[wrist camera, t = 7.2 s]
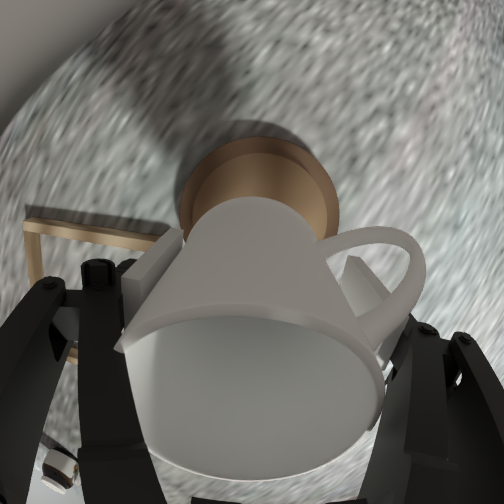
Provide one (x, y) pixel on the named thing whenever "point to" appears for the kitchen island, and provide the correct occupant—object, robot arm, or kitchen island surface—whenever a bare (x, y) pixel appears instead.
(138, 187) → the kitchen island surface
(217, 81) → the kitchen island surface
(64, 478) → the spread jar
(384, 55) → the kitchen island surface
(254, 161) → the brown wooden saucer
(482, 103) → the kitchen island surface
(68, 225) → the square wooden frame
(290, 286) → the mug
